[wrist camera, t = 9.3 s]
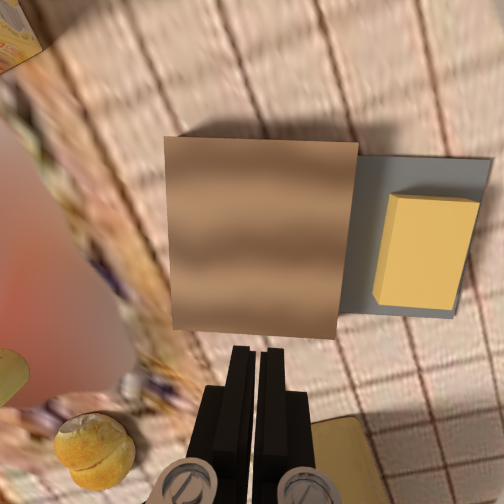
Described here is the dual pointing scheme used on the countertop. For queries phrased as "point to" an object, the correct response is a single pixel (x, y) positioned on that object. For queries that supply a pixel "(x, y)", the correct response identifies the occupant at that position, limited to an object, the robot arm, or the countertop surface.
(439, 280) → the yellow block
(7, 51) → the candy box
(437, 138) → the countertop surface
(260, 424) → the robot arm
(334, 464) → the cheese
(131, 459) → the bread roll
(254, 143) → the brown wooden block
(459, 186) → the mat
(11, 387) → the tube
